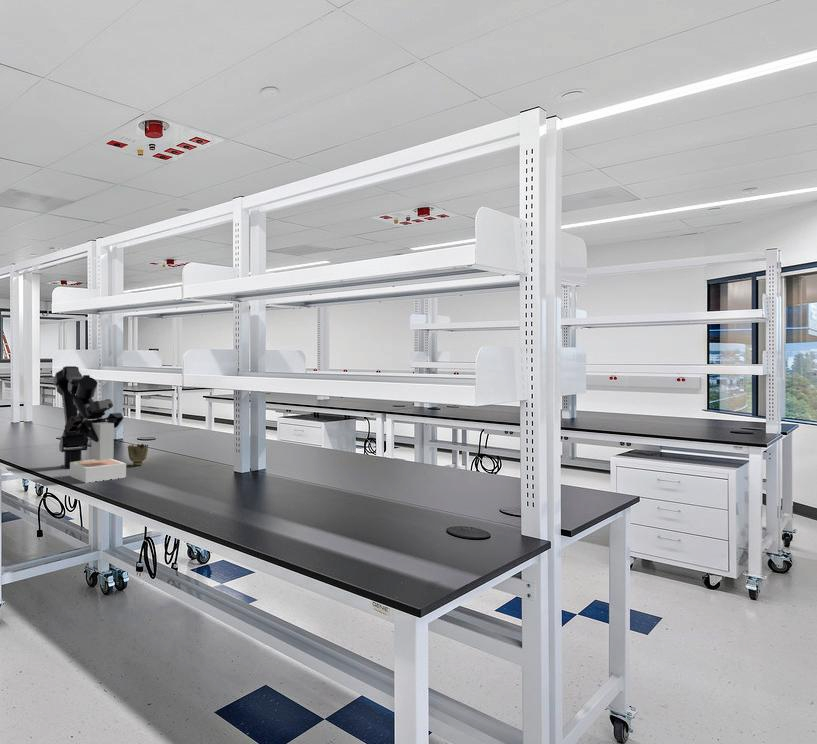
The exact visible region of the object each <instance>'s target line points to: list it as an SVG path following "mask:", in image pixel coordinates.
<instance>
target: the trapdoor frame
mask: <svg viewBox="0 0 817 744" xmlns="http://www.w3.org/2000/svg"><path fill="white" fill-rule="evenodd" d="M92 460H93V459H87V460H82V461H75V462H70V468H69V477H70V478H73V479H76V480H78V481H80V482H83V483H84V482H85V484H88V483H89V482H90V483H96V482H95V481H97V482H102V481H103V480H104V481H111V480H110V479H112V480H118V478H119V479H125V477H126V478H127V463H125V462H122V461H119V460H117V459H114V458H113V459H108V460H111V461H114V462H117V463H120V464H113V465H104V466H96V467H86V466H84V465H81V464H78V463H77V462H83V461H92ZM104 481H103V482H104ZM90 483H89V484H90Z"/></svg>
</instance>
